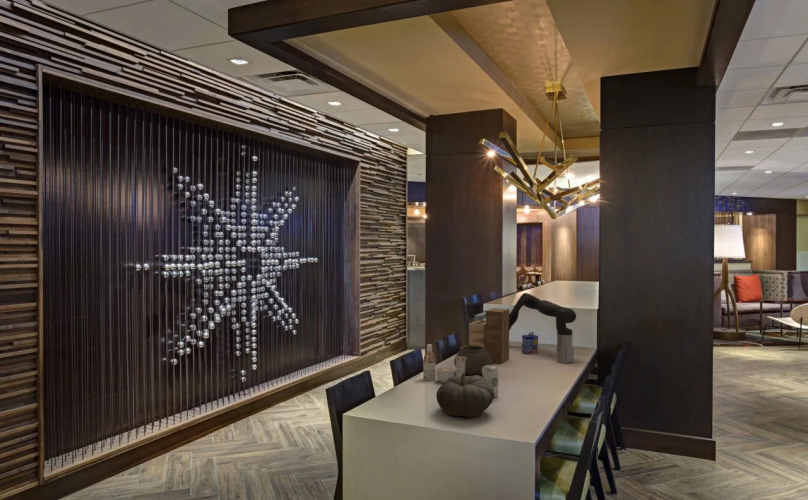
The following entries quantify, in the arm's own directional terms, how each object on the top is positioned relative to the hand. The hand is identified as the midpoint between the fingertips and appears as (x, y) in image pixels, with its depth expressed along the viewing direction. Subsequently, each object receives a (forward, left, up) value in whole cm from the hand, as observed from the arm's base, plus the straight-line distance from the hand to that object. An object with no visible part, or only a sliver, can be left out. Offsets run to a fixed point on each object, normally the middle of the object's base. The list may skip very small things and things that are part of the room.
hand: (487, 312), depth 366 cm
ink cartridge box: (-16, -23, -28) cm, 40 cm away
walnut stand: (-23, +12, -27) cm, 38 cm away
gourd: (-96, +95, -28) cm, 138 cm away
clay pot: (-42, +47, -28) cm, 69 cm away
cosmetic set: (-48, +71, -28) cm, 90 cm away
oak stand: (-6, +11, -27) cm, 30 cm away
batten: (-3, +6, -3) cm, 7 cm away
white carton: (-82, +69, -28) cm, 111 cm away
